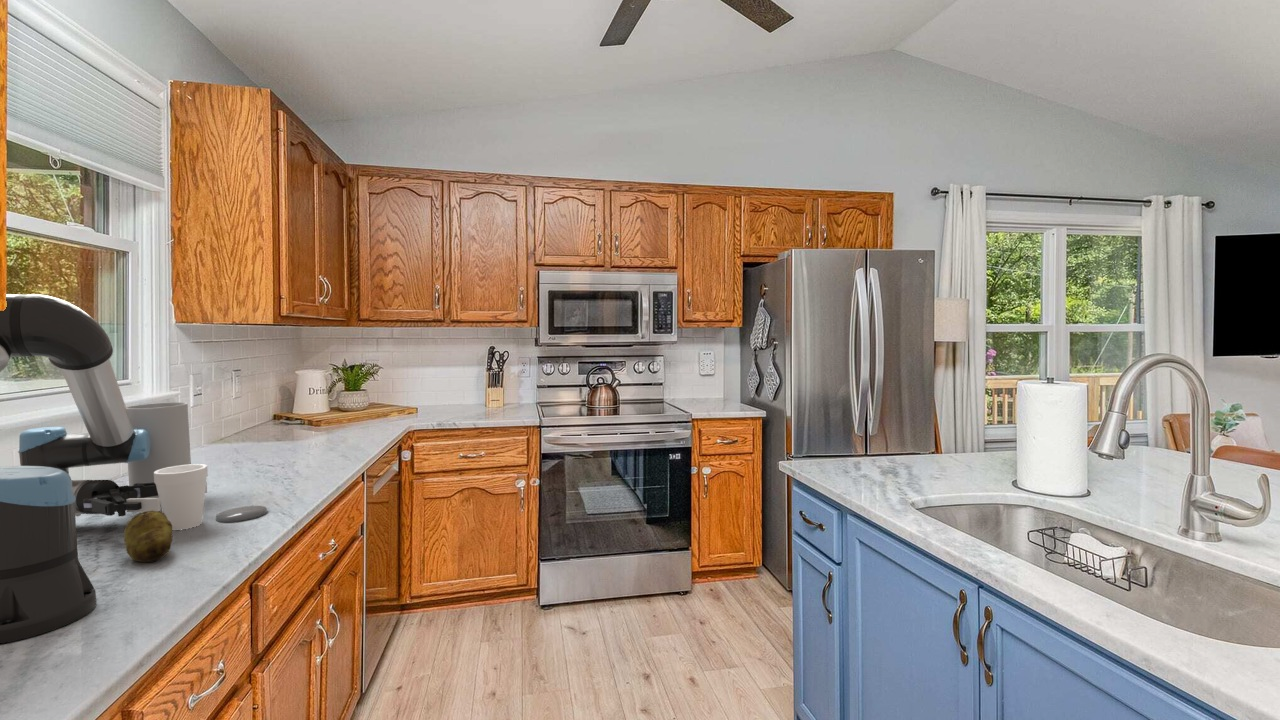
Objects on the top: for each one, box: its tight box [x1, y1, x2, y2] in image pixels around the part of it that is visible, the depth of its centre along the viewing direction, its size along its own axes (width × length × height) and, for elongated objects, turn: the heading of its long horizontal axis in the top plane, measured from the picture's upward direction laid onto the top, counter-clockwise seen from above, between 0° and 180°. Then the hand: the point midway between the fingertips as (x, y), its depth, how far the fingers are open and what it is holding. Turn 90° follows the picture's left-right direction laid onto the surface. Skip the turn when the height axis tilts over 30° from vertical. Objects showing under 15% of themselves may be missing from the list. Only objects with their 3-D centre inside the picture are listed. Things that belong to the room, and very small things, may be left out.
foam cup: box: [154, 463, 209, 531], centre depth 133 cm, size 10×9×13 cm
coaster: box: [215, 505, 268, 523], centre depth 140 cm, size 10×10×1 cm
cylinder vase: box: [126, 401, 192, 508], centre depth 152 cm, size 12×12×25 cm
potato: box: [123, 511, 174, 563], centre depth 115 cm, size 8×13×8 cm, turn 29°
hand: (183, 495), depth 133 cm, fingers open, 13 cm apart
